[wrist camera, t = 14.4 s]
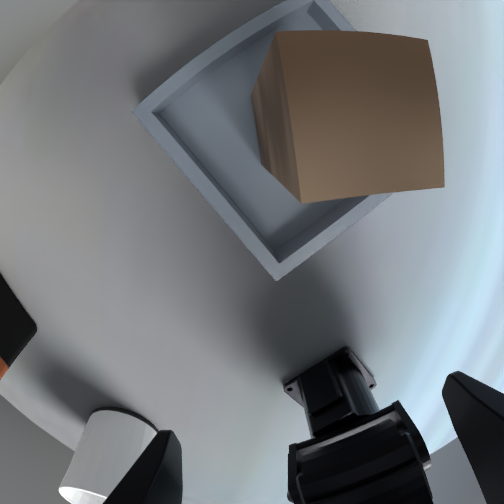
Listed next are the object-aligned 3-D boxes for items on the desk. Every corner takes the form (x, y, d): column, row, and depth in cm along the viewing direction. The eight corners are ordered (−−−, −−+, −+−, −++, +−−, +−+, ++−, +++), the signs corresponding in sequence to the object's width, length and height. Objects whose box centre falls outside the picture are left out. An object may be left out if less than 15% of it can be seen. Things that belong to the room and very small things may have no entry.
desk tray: (415, 154, 18) (436, 158, 16) (271, 264, 20) (276, 281, 18) (305, 1, 14) (315, -15, 12) (144, 114, 16) (131, 111, 14)
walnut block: (330, 156, 17) (444, 187, 7) (261, 164, 17) (301, 204, 7) (321, 88, 16) (427, 40, 6) (250, 95, 16) (275, 31, 6)
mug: (87, 434, 27) (64, 503, 17) (87, 391, 24) (52, 475, 15) (175, 463, 29) (167, 536, 19) (193, 426, 26) (185, 517, 16)
